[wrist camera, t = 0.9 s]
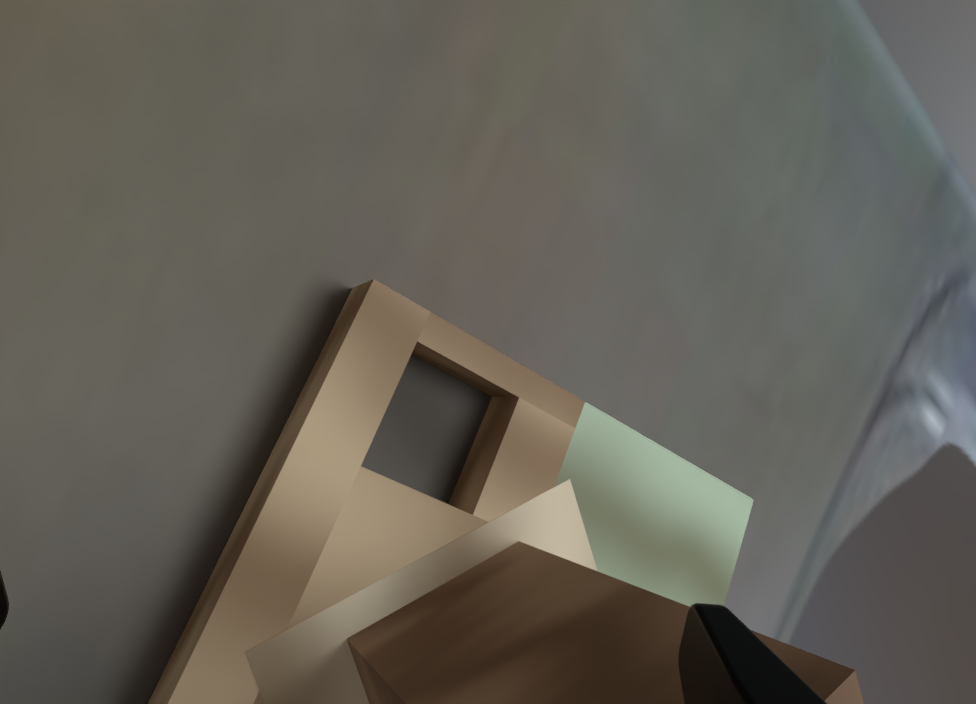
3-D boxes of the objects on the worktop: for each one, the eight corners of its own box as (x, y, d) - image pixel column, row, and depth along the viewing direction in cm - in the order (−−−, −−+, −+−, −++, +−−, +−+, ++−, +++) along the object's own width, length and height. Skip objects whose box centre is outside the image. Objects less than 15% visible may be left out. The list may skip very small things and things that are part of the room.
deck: (574, 963, 24) (610, 1009, 22) (39, 922, 16) (30, 987, 14) (715, 492, 28) (754, 499, 27) (352, 287, 21) (374, 279, 19)
